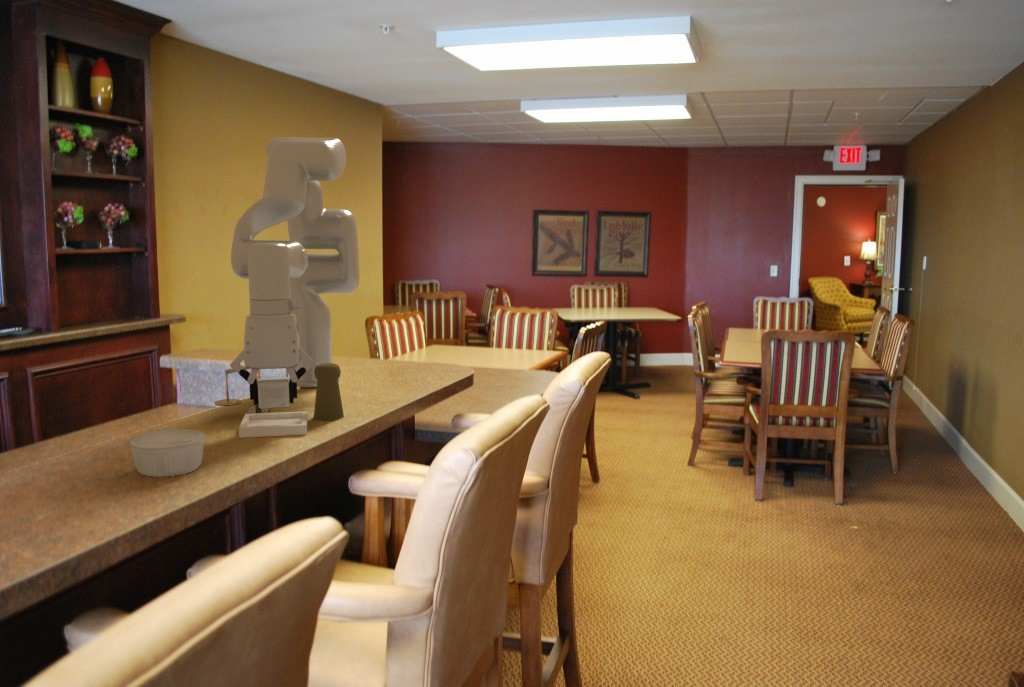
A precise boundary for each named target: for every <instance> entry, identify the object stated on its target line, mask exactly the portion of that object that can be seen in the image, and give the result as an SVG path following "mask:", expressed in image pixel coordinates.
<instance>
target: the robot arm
mask: <svg viewBox="0 0 1024 687" xmlns="http://www.w3.org/2000/svg"><path fill="white" fill-rule="evenodd" d="M265 152H266V158H267V162H266V169H265V176H264V183H263V185H264V186H263V191H262V192H263V193H262V196H261V197H260V199H258V200H256V201H255V202H254V203H253V204H252V205H250V207H248V208H247V210H246V211H245V212H244V213H243V214H242V215H241V216H240V217H239V219H238V221H237V223H236V225H235V228H234V231H233V238H232V242H231V243H232V244H231V249H230V250H231V251H230V265H231V269H232V271H233V272H234V274H235V275H236V276H237V277H239V278H241V279H242V280H243V279H245V280H248V292H249V293H248V297H249V299H248V300H249V301H248V302H249V315H246V317H245V323H244V331H243V332H244V333H243V350H242V351H241V352H240V353H239V354H238V355H237V356H236V357H235V359H233V361H231V363H230V365H229V366H230V369H234V370H235V371H236V372H235V373H237V374H238V375H239V376H240V377H241V378H243V379H244V380H245V381H246V382H247V384H249V398H250V399H249V400H250V401H252V400H253V405H254V406H255V405H257V404H258V403H259V399H258V382H257V379H256V376H257V373H258V370H259V369H260V370H272V369H273V370H275V369H279V370H281V369H285V370H286V369H287V372H288V383H289V401H290V404H294V402H295V399H297V398H298V391H297V386H300V388H317V379H316V378H315V374H314V370H315V367H316V366H317V365H319V364H322V363H333V350H332V348H333V347H332V320H331V319H332V317H331V310H330V308H329V306H328V304H327V303H326V302H325V301H324V300H323V298H322V297H321V296H320V295H322V294H350V293H354V292H355V291H356V290H357V289H358V287H359V284H360V258H359V257H360V256H359V242H358V241H359V240H358V227H357V222H356V219H355V218H356V217H355V216H354V214H353V213H352V212H351V211H349V210H348V209H342V208H325V206H324V196H323V192H324V191H323V188H322V185H321V183H320V182H328V181H329V182H331V181H336V180H338V178H340V177H341V176H342V175H343V173H344V171H345V169H346V165H347V152H346V148H345V145H344V143H343V142H342V141H341V139H339V138H337V137H301V136H299V137H297V136H295V137H294V136H291V137H290V136H288V137H287V136H286V137H285V136H284V137H276V138H273V139H270V141H268V142H267V144H266V148H265ZM284 222H287V232H288V238H289V239H288V240H275V239H274V240H259V239H258V240H257V239H256V240H255V239H254V238H256V237H257V236H258V235H259V234H260V233H261V232H263V231H265V230H266V229H269V228H271V227H274V226H276V225H278V224H279V225H280V224H282V223H284ZM307 250H335V251H336V252H337V253H308V251H307ZM242 362H244V366H246V367H247V368H250V372H249V371H248V369H244V368H243V367H242V365H241V363H242ZM339 382H340V378H339V379H338V383H339Z"/></svg>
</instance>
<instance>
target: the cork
mask: <svg viewBox="0 0 1024 687" xmlns="http://www.w3.org/2000/svg"><path fill="white" fill-rule="evenodd" d="M341 372H342V371H341V367H340V366H339V365H338V364H337V363H333V362H332V363H322V364H319V365H317V366H316V367H315V370H314V374H315V378H316V379H317V387H316V391H315V401H314V410H313V419H314V420H317V421H336V420H335V419H337V420H340V418H341V419H343V418H344V417H345V415H344V410H343V404H342V396H341V390H340V383H339V382H338V379H339V380H340V377H341V374H342V373H341ZM342 417H343V418H342Z"/></svg>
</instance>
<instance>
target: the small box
mask: <svg viewBox="0 0 1024 687" xmlns="http://www.w3.org/2000/svg"><path fill="white" fill-rule="evenodd" d="M288 378H289V376H288V377H286V376H283V377H280V376H279V377H260V379H258V399H259V408H270V409H271V408H285V407H290V405H291V403H290V401H289V383H288Z"/></svg>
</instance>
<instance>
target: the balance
mask: <svg viewBox="0 0 1024 687" xmlns="http://www.w3.org/2000/svg"><path fill="white" fill-rule="evenodd" d="M241 366H242V365H241ZM242 367H243V368H244V369H246V370H249V369H250V368H247V367H246V366H245V365H243V366H242ZM250 370H251V369H250ZM224 372H225V391H226V392H225V393H226V394H225V396H226V399H224V398H223V399H218V400H216V401H214V405H215V406H218V407H231V406H237V405H240V404H241V403H242V401H241V399H238V398H237V399H236V398H229V396H230V395H229V376H228V375H229V374H234V373H237V372H236V371H235V370H234V369H232V368H229V369H226V370H224ZM285 377H288V378H289V374H288V372H287V369H286V368H285ZM260 378H261V369H259V370H258V373H257V376H256V379H257V382H258V379H260ZM298 391H301V387H300V386H297V392H298ZM254 413H271V408H259V403H258V404H257V405H254V406H249V408H248V410H247V412H246V414H254Z"/></svg>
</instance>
